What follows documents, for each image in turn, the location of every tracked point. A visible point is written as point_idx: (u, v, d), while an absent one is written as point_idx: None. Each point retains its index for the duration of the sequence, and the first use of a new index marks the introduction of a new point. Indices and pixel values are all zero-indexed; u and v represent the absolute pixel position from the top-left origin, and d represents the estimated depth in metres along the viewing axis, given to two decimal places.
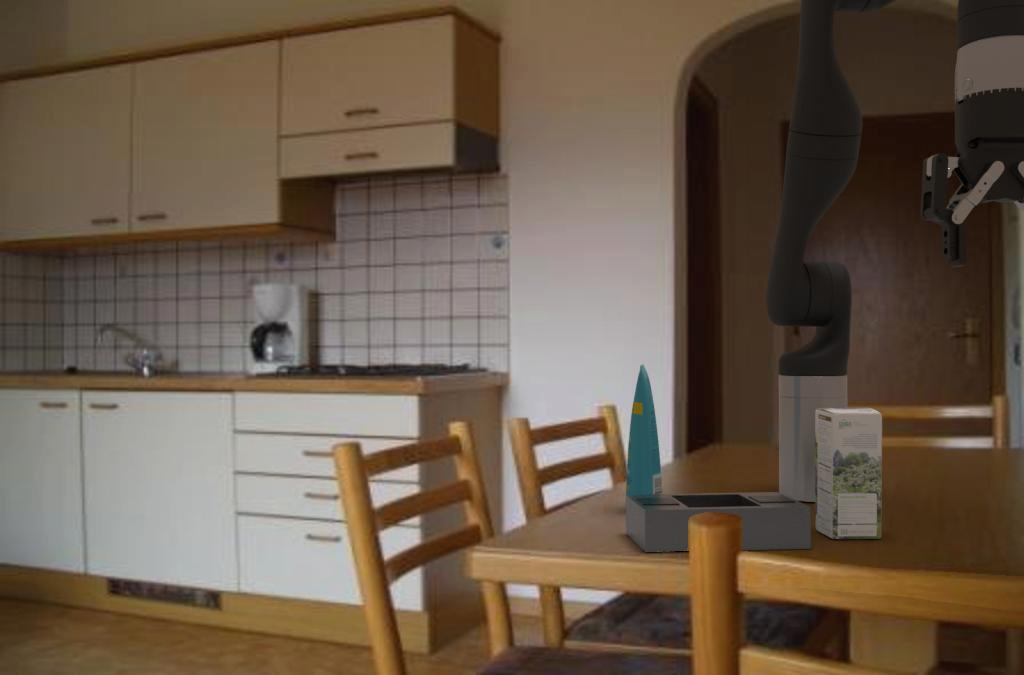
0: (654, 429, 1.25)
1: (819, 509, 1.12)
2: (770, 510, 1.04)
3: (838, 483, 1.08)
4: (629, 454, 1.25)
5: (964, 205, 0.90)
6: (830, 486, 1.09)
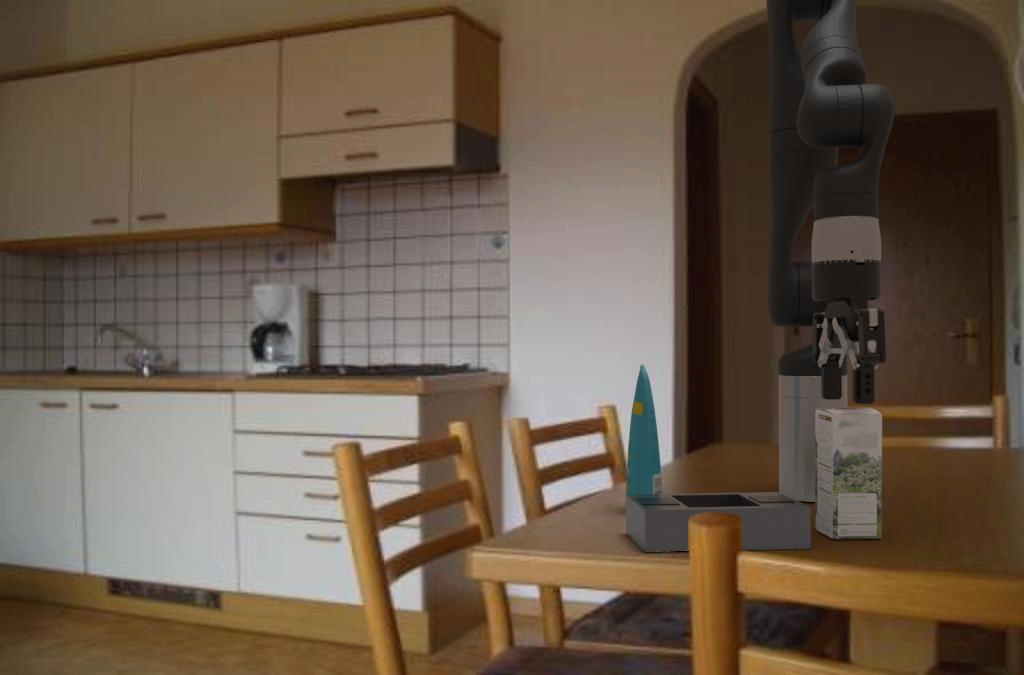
0: (654, 429, 1.25)
1: (819, 509, 1.12)
2: (770, 510, 1.04)
3: (838, 483, 1.08)
4: (629, 454, 1.25)
5: None
6: (830, 486, 1.09)
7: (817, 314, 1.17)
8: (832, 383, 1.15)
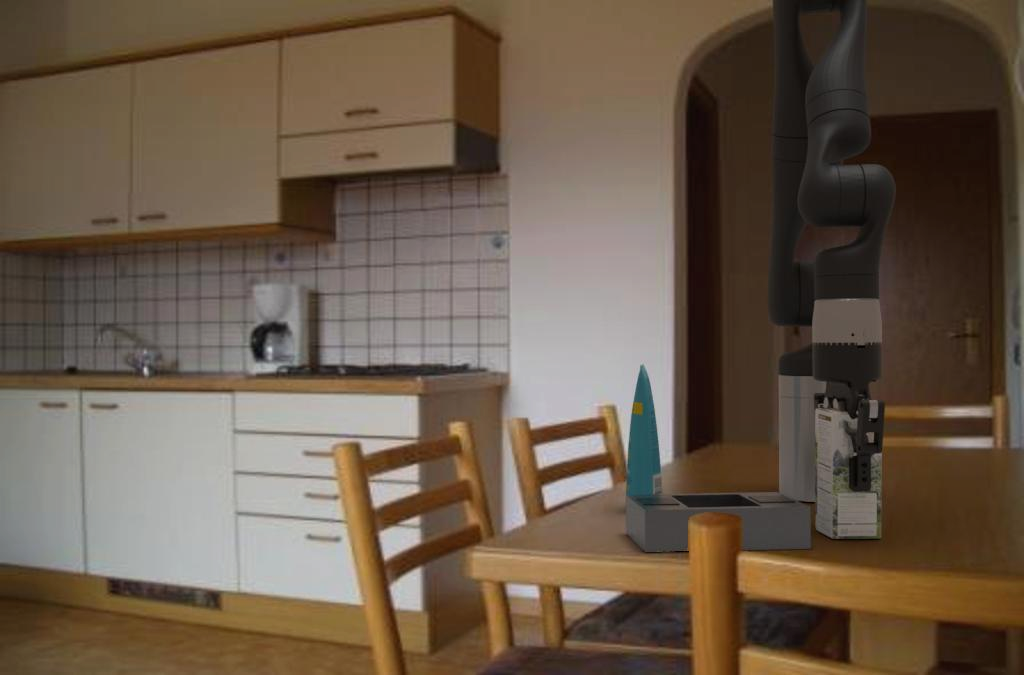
0: (654, 429, 1.25)
1: (819, 509, 1.12)
2: (770, 510, 1.04)
3: (837, 483, 1.08)
4: (629, 454, 1.25)
5: None
6: (830, 485, 1.09)
7: (818, 394, 1.17)
8: None
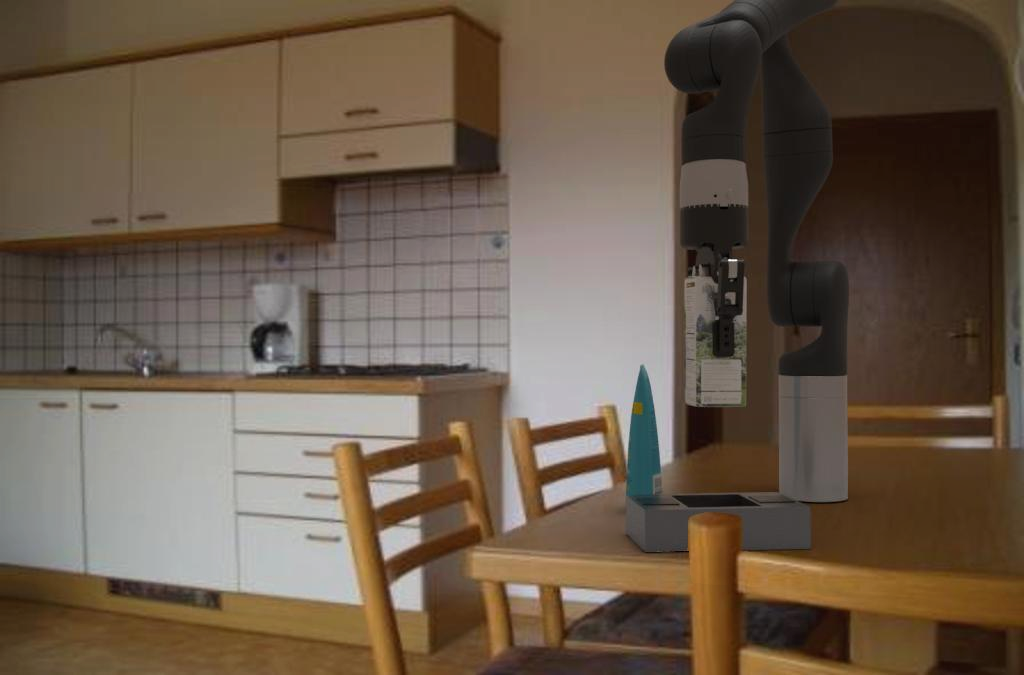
0: (654, 429, 1.25)
1: (687, 381, 1.10)
2: (770, 510, 1.04)
3: (701, 349, 1.06)
4: (629, 454, 1.25)
5: None
6: (694, 352, 1.06)
7: (690, 268, 1.14)
8: None
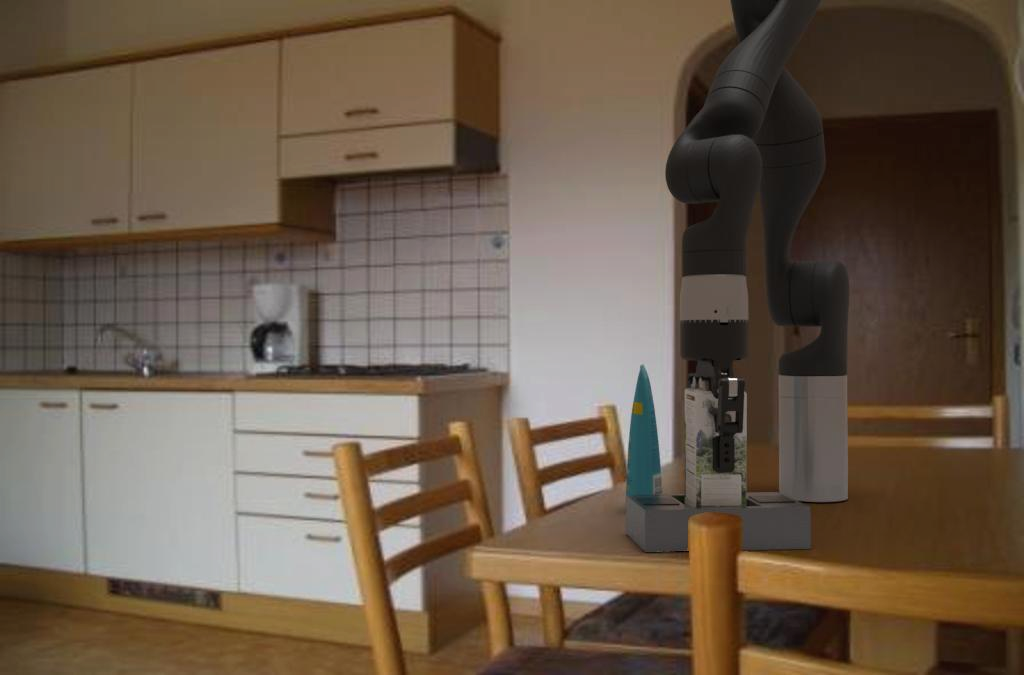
0: (654, 429, 1.25)
1: (687, 492, 1.09)
2: (770, 510, 1.04)
3: (701, 464, 1.06)
4: (629, 454, 1.25)
5: None
6: (694, 467, 1.06)
7: (691, 374, 1.14)
8: None
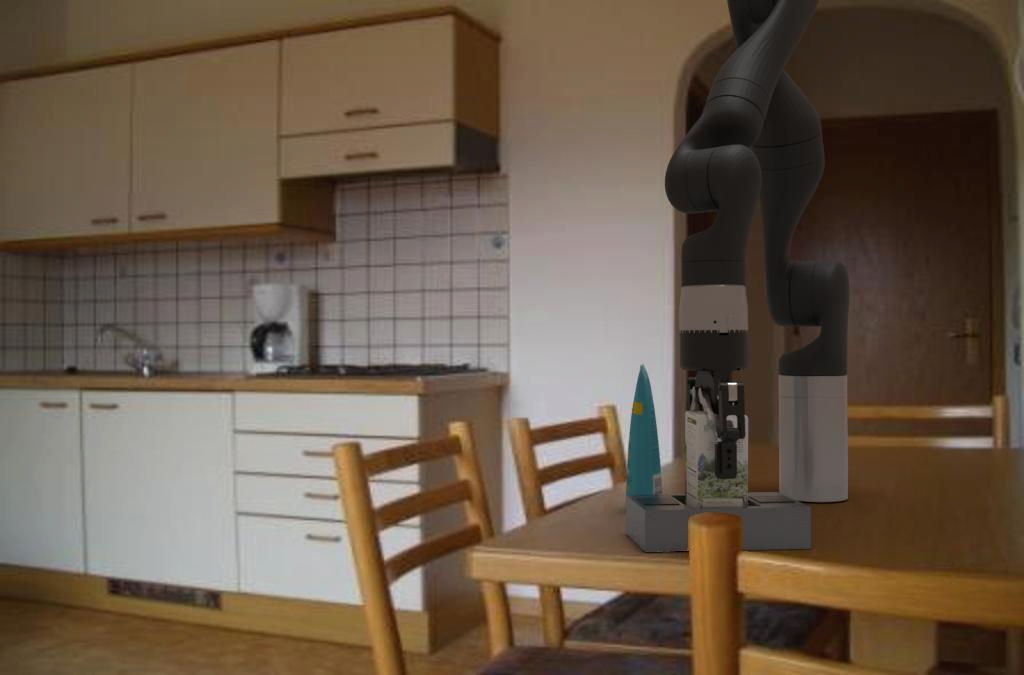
0: (654, 429, 1.25)
1: None
2: (770, 510, 1.04)
3: (702, 488, 1.05)
4: (629, 454, 1.25)
5: None
6: (695, 491, 1.06)
7: (690, 379, 1.14)
8: None
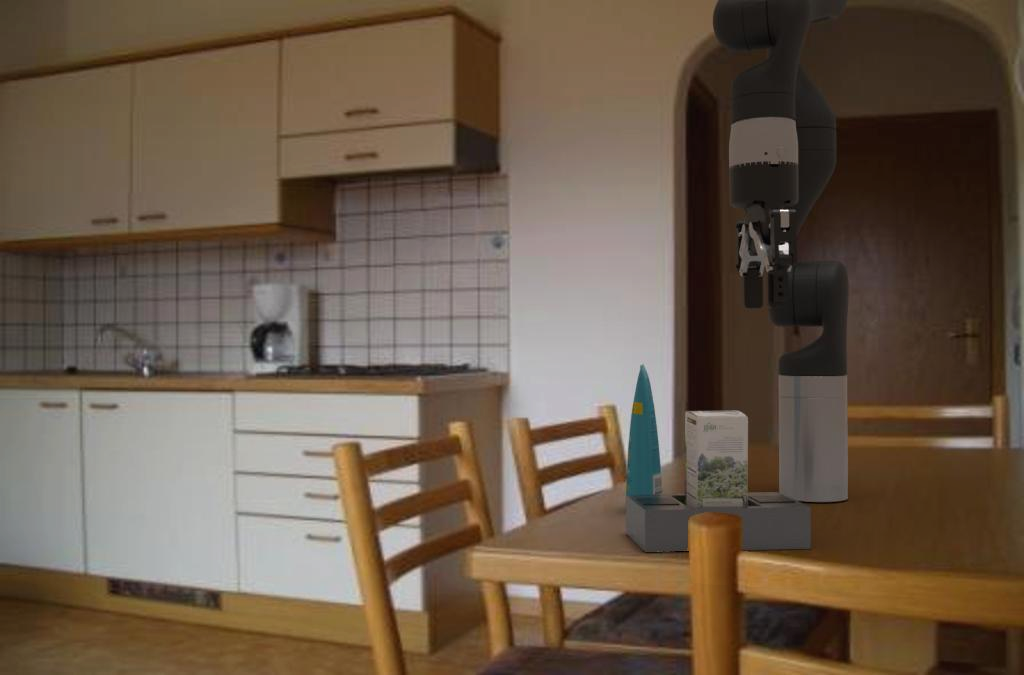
0: (654, 429, 1.25)
1: None
2: (770, 510, 1.04)
3: (702, 488, 1.05)
4: (629, 454, 1.25)
5: None
6: (695, 491, 1.06)
7: (739, 222, 1.15)
8: (753, 292, 1.14)
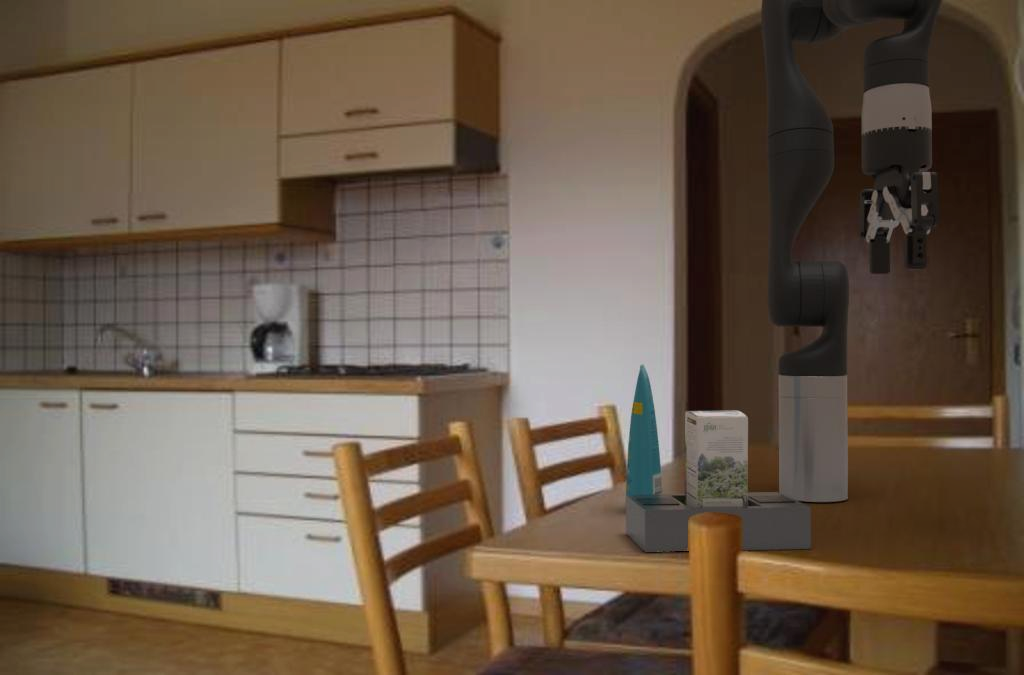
0: (654, 429, 1.25)
1: None
2: (770, 510, 1.04)
3: (702, 488, 1.05)
4: (629, 454, 1.25)
5: None
6: (695, 491, 1.06)
7: (865, 190, 1.17)
8: (881, 258, 1.16)
